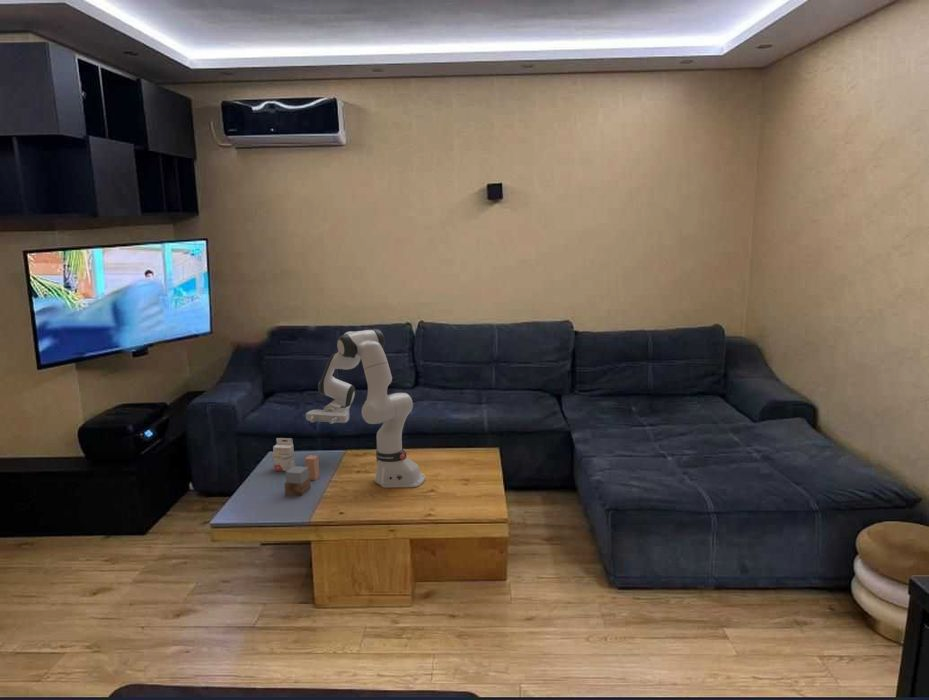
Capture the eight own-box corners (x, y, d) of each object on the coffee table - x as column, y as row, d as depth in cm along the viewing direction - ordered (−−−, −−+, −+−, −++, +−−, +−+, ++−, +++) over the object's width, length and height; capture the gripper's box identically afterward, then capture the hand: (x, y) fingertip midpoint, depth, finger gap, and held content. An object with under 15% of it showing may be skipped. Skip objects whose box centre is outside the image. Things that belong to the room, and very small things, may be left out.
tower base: (310, 488, 293) (310, 477, 292) (302, 495, 286) (301, 484, 285) (294, 487, 295) (293, 476, 294) (285, 494, 288) (284, 483, 287)
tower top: (308, 478, 292) (308, 467, 291) (301, 484, 285) (300, 473, 284) (294, 476, 294) (293, 466, 293) (286, 482, 287) (285, 472, 286)
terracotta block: (319, 476, 306) (318, 455, 304) (315, 480, 302) (313, 459, 300) (310, 475, 307) (309, 455, 305) (306, 479, 303) (304, 458, 301)
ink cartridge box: (274, 470, 314) (271, 441, 311) (277, 467, 319) (275, 437, 316) (291, 471, 313) (289, 441, 310) (295, 467, 318) (293, 437, 315)
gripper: (312, 405, 327) (299, 413, 314) (351, 407, 323) (341, 416, 310) (312, 417, 328) (300, 426, 315) (352, 419, 325) (341, 429, 311)
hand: (321, 421), depth 312 cm, fingers open, 8 cm apart
